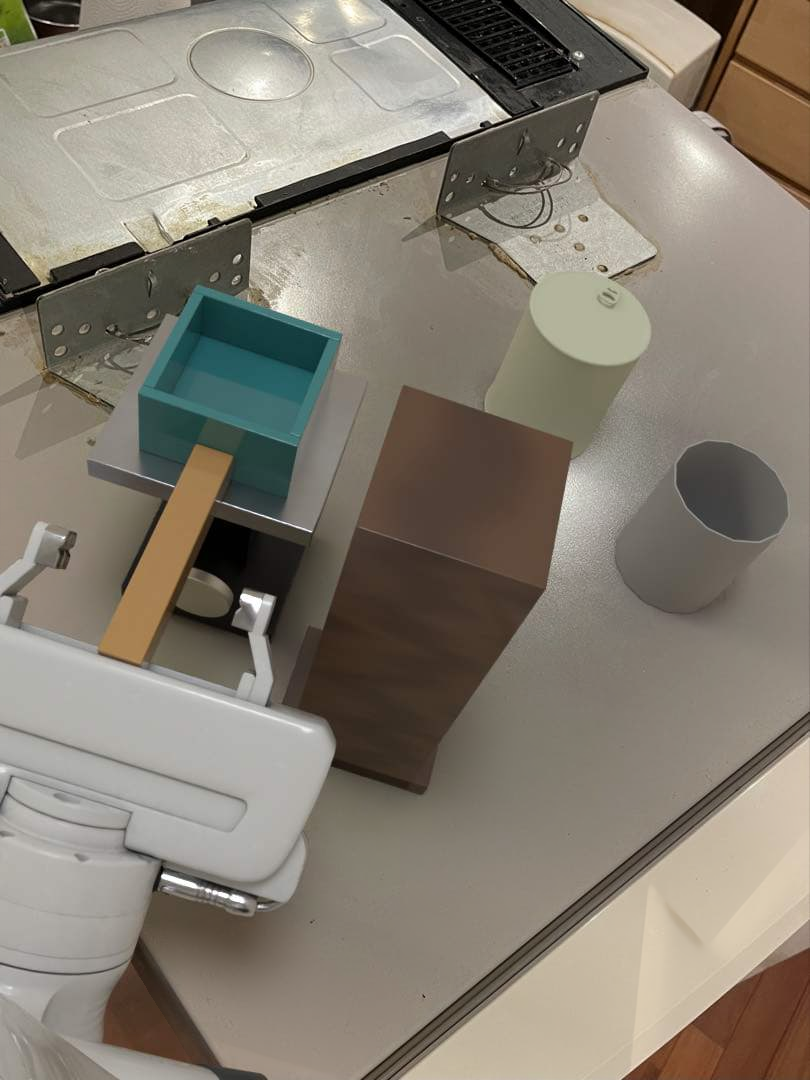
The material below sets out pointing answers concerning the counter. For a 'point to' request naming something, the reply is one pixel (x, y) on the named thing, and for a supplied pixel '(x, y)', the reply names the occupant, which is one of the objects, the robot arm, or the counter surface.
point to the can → (570, 356)
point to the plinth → (431, 583)
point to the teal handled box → (218, 437)
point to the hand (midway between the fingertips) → (160, 559)
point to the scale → (232, 502)
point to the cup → (702, 526)
